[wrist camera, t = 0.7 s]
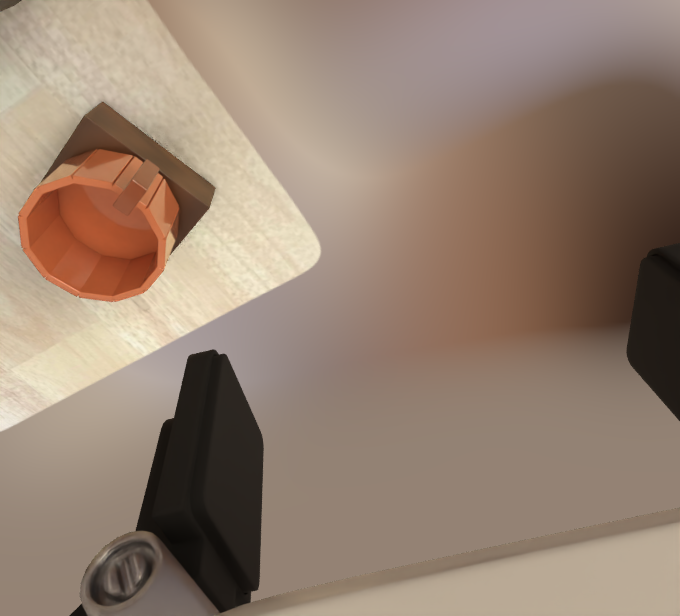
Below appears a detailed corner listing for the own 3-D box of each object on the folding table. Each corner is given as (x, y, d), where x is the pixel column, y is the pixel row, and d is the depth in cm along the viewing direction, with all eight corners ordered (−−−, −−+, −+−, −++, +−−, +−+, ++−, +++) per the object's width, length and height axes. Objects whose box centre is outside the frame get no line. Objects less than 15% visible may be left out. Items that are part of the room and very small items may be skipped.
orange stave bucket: (31, 213, 45) (-22, 266, 37) (107, 98, 40) (65, 131, 32) (139, 280, 49) (112, 339, 42) (218, 184, 45) (205, 230, 37)
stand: (45, 188, 48) (23, 208, 44) (102, 101, 45) (84, 115, 41) (156, 259, 54) (145, 284, 50) (215, 187, 50) (209, 207, 46)
